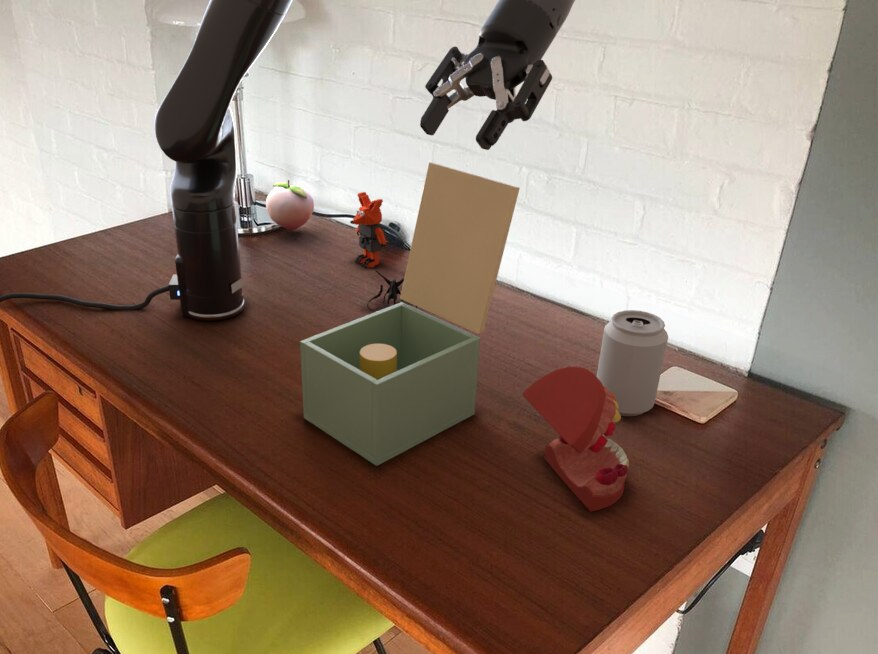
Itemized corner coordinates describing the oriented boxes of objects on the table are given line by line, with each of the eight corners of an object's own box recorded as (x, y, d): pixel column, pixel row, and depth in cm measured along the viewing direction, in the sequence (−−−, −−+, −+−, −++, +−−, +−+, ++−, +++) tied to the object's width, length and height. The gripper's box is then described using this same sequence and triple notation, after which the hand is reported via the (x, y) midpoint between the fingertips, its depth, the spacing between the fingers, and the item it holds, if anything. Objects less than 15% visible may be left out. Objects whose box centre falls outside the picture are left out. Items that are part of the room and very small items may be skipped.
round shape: (360, 426, 100) (360, 361, 96) (359, 407, 104) (359, 343, 100) (396, 425, 100) (398, 360, 96) (394, 406, 104) (395, 343, 100)
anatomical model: (659, 491, 89) (632, 388, 81) (597, 528, 89) (564, 429, 80) (603, 440, 98) (573, 343, 90) (546, 474, 97) (511, 379, 89)
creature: (415, 323, 129) (418, 292, 135) (416, 295, 125) (419, 265, 131) (365, 321, 130) (370, 290, 135) (364, 293, 126) (369, 263, 132)
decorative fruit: (257, 232, 161) (254, 181, 155) (284, 220, 166) (281, 171, 161) (295, 242, 156) (293, 190, 151) (322, 229, 162) (320, 179, 157)
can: (654, 394, 108) (671, 311, 102) (651, 424, 102) (669, 337, 96) (595, 385, 110) (609, 302, 104) (589, 413, 104) (603, 328, 98)
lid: (515, 187, 92) (520, 187, 93) (428, 162, 101) (433, 162, 102) (478, 334, 98) (482, 334, 99) (399, 298, 107) (403, 298, 108)
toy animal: (338, 260, 148) (337, 194, 142) (363, 253, 151) (363, 188, 145) (364, 274, 143) (364, 206, 137) (389, 267, 145) (390, 200, 139)
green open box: (376, 466, 95) (377, 384, 89) (303, 418, 103) (299, 341, 98) (474, 414, 104) (480, 337, 99) (400, 374, 113) (401, 301, 107)
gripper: (466, -12, 95) (391, 107, 94) (568, -3, 85) (486, 129, 85) (494, 33, 100) (424, 145, 100) (592, 46, 91) (515, 170, 90)
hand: (452, 138), depth 92 cm, fingers open, 8 cm apart
